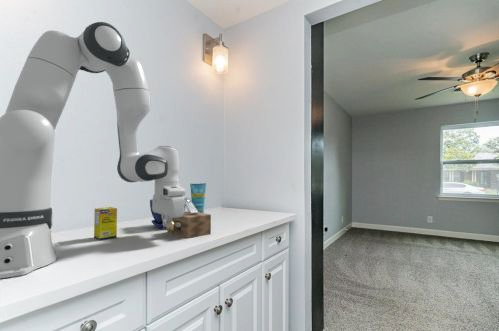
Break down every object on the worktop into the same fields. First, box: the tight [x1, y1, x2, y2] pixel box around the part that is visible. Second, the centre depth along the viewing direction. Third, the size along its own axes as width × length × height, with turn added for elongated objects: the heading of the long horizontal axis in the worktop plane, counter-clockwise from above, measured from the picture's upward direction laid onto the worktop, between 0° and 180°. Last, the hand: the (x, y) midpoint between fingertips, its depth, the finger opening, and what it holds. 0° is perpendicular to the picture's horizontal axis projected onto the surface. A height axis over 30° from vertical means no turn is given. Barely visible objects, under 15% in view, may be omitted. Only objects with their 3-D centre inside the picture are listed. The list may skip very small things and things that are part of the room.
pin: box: [165, 221, 181, 234], centre depth 100 cm, size 14×5×5 cm, turn 132°
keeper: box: [184, 197, 198, 214], centre depth 102 cm, size 3×9×1 cm
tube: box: [189, 182, 207, 213], centre depth 116 cm, size 7×5×19 cm, turn 123°
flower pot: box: [149, 198, 186, 230], centre depth 115 cm, size 13×13×12 cm
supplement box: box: [93, 206, 118, 241], centre depth 93 cm, size 6×6×11 cm
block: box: [172, 211, 212, 239], centre depth 101 cm, size 10×14×8 cm
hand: (166, 226), depth 95 cm, fingers closed, pressing on pin
